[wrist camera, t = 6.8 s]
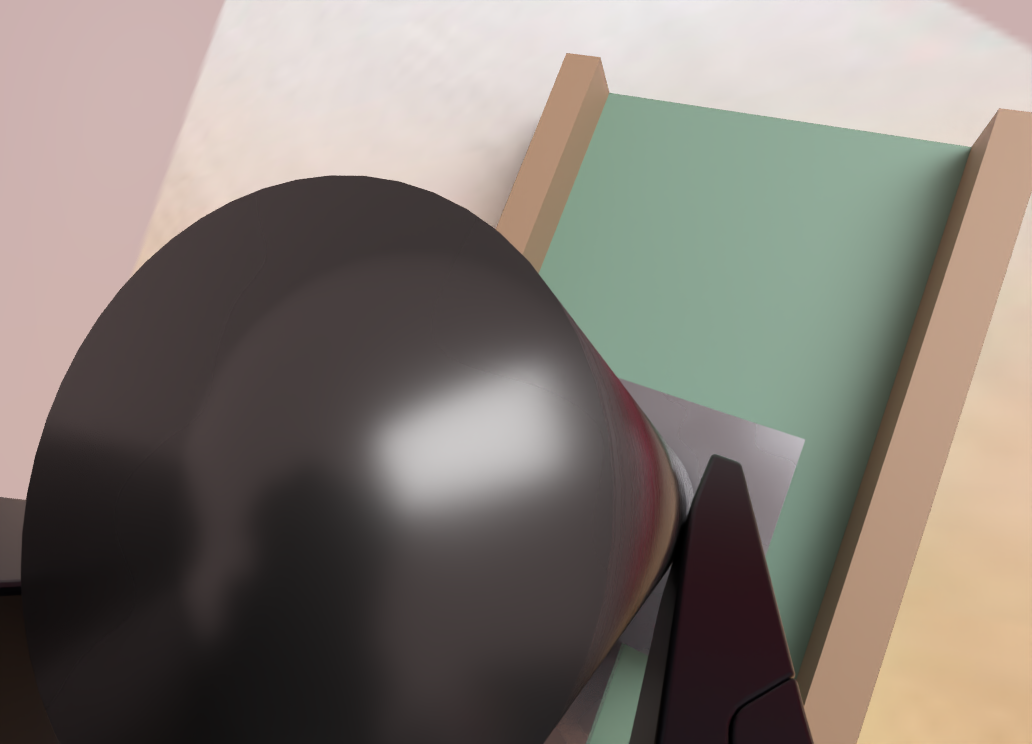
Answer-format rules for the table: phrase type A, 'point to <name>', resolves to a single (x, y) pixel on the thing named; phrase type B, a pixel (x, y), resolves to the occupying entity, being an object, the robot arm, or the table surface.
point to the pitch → (785, 325)
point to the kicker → (354, 489)
